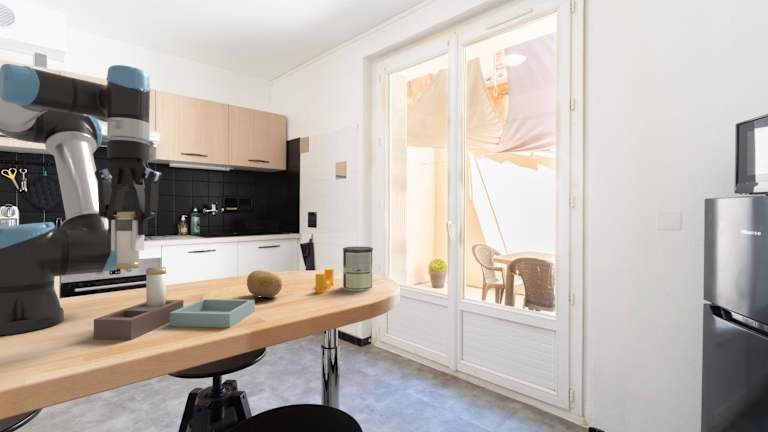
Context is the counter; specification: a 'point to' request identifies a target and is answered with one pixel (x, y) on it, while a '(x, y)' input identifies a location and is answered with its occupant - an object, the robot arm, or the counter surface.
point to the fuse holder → (134, 321)
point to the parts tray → (212, 313)
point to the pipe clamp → (324, 281)
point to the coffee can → (357, 268)
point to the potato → (264, 284)
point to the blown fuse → (126, 242)
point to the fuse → (156, 287)
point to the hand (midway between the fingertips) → (127, 249)
